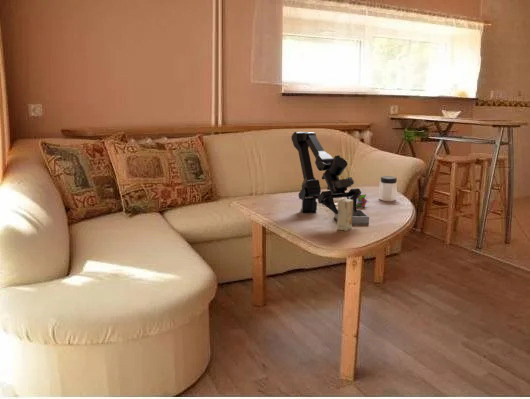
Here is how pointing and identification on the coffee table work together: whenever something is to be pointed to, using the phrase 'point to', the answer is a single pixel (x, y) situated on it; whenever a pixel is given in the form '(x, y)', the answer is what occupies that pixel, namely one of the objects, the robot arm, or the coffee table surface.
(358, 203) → the geometric puzzle
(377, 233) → the coffee table surface
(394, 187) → the jar
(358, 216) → the tray
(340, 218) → the skincare box
